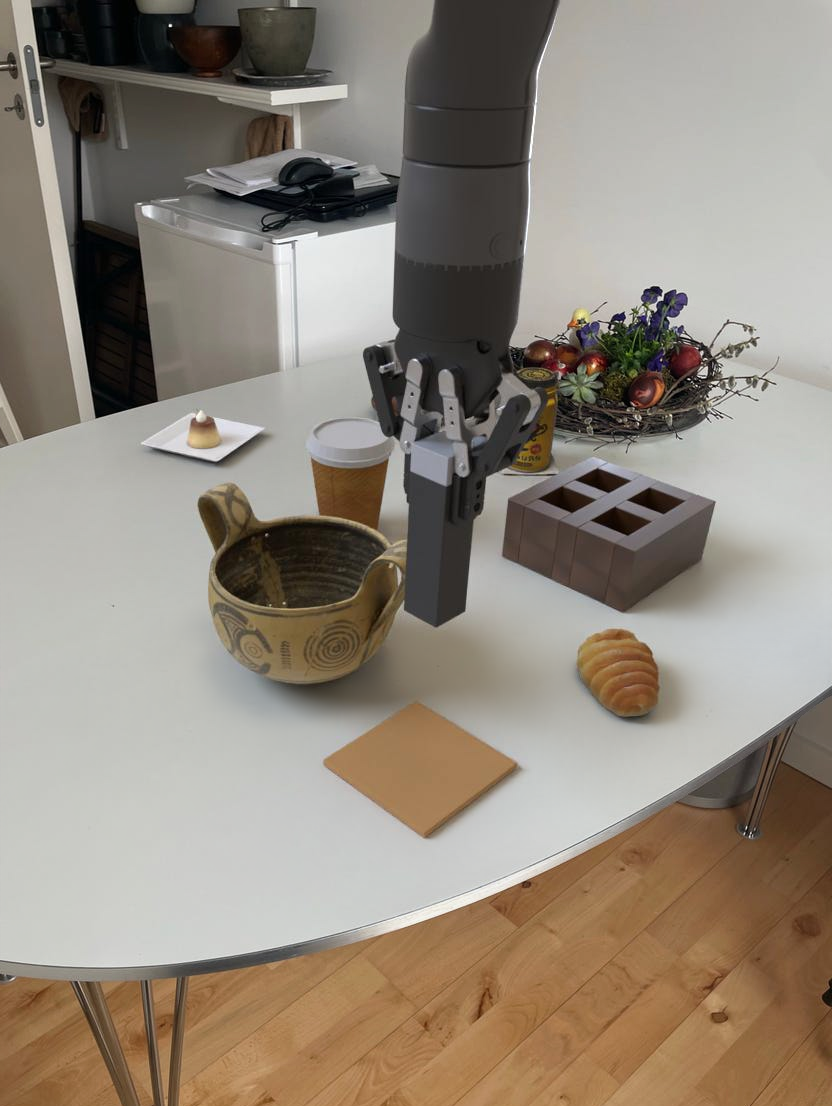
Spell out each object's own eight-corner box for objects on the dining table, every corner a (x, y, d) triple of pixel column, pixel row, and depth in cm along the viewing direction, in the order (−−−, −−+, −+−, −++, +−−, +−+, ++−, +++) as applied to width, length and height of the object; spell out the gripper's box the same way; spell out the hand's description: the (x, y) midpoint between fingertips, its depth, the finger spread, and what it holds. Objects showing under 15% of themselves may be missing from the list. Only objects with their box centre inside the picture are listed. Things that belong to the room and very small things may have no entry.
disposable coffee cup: (357, 505, 115) (359, 408, 108) (408, 536, 109) (413, 436, 102) (290, 527, 110) (287, 428, 104) (339, 561, 104) (339, 458, 97)
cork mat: (516, 768, 78) (517, 762, 77) (424, 838, 71) (424, 832, 71) (416, 705, 84) (416, 700, 84) (323, 765, 78) (323, 759, 77)
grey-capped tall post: (465, 611, 70) (481, 444, 63) (436, 628, 68) (448, 458, 61) (432, 594, 72) (444, 429, 65) (403, 610, 70) (411, 442, 63)
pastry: (674, 721, 83) (683, 685, 80) (596, 725, 82) (603, 689, 80) (639, 656, 90) (646, 622, 88) (568, 660, 90) (573, 626, 88)
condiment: (502, 475, 122) (512, 383, 115) (494, 447, 129) (502, 359, 122) (559, 475, 122) (573, 383, 115) (548, 448, 129) (560, 359, 122)
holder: (701, 559, 105) (716, 501, 101) (622, 612, 96) (635, 551, 92) (583, 511, 114) (592, 456, 110) (501, 556, 105) (507, 498, 101)
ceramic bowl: (457, 659, 90) (470, 514, 81) (350, 758, 78) (352, 603, 70) (271, 583, 100) (265, 449, 92) (153, 662, 89) (133, 516, 80)
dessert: (191, 419, 136) (188, 386, 133) (265, 435, 132) (264, 401, 129) (140, 451, 127) (136, 416, 124) (218, 469, 123) (215, 433, 120)
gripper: (600, 255, 54) (559, 530, 64) (414, 214, 62) (404, 463, 72) (516, 280, 49) (486, 570, 59) (329, 232, 58) (330, 494, 68)
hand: (441, 510), depth 66 cm, fingers closed on grey-capped tall post, 3 cm apart
